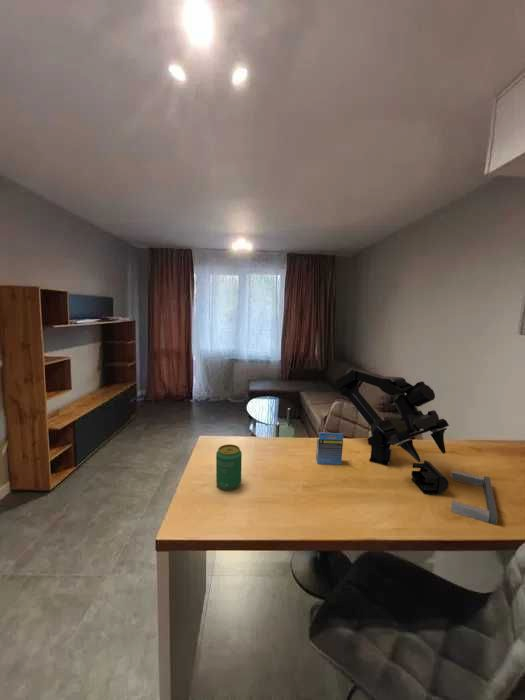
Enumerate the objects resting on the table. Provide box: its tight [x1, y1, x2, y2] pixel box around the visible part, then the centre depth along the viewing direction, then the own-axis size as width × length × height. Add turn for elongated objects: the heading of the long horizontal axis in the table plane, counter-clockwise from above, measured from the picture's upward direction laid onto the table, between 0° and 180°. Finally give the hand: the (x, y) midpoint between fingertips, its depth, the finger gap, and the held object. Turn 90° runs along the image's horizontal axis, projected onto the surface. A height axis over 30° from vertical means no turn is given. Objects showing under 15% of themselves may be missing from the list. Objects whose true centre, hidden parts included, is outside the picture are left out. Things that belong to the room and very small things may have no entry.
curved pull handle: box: [450, 469, 499, 526], centre depth 101 cm, size 11×22×3 cm, turn 150°
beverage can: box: [215, 444, 243, 491], centre depth 105 cm, size 8×8×12 cm
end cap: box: [411, 459, 450, 496], centre depth 107 cm, size 10×7×7 cm
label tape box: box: [315, 431, 344, 466], centre depth 121 cm, size 9×4×12 cm, turn 89°
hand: (432, 457), depth 105 cm, fingers open, 9 cm apart
